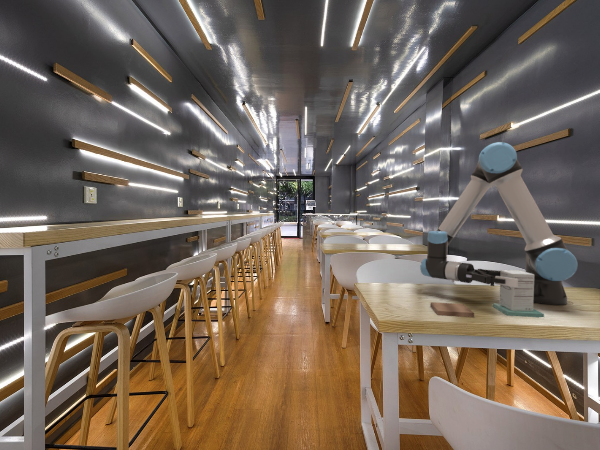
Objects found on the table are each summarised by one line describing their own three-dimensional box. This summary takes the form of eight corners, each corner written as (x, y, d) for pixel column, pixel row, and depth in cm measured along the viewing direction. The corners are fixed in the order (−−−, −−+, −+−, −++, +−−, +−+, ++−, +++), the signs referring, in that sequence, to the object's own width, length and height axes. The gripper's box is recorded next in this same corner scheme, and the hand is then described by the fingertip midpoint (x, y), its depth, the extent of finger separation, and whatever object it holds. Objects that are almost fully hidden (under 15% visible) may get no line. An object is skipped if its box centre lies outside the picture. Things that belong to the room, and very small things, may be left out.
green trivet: (525, 310, 116) (526, 305, 116) (543, 320, 105) (544, 313, 105) (492, 308, 117) (492, 303, 117) (507, 317, 107) (507, 311, 107)
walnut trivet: (462, 309, 115) (462, 303, 115) (474, 319, 104) (474, 312, 104) (430, 307, 117) (430, 302, 117) (438, 316, 106) (438, 310, 106)
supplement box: (498, 304, 115) (499, 269, 114) (519, 305, 115) (520, 269, 114) (511, 311, 107) (512, 273, 107) (534, 311, 107) (535, 273, 107)
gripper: (473, 278, 134) (535, 287, 117) (444, 285, 118) (511, 297, 101) (474, 260, 134) (535, 266, 117) (445, 265, 118) (511, 273, 101)
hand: (524, 280), depth 109 cm, fingers open, 13 cm apart
